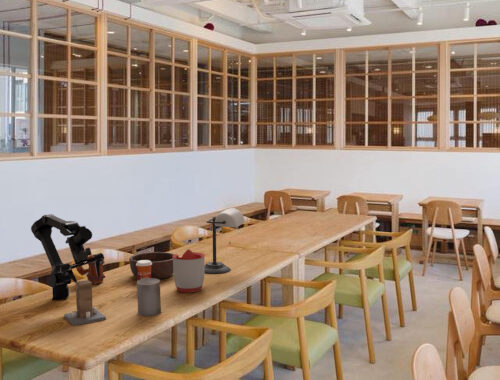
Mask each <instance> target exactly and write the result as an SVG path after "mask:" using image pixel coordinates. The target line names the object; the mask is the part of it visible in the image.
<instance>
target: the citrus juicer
mask: <svg viewBox="0 0 500 380" xmlns="http://www.w3.org/2000/svg"><path fill="white" fill-rule="evenodd" d="M173 254H174V255H173V256H172V257H173V275H172V276H173V282H174V286H175V288H176V290H177V291H178V292H181V293H185V294H187V293H188V294H189V293H195V292H199V291H201V290H202V288H203V285H204V281H205V275H206V274H205V256H206V254H204V253H202V252H198V251H197V252H196V251H195V252H193V251H192V250H191V249H189V248H188V249H186V250H185V252H184V253H183V254H182V256H179V254H177V253H176V254H175V253H173Z"/></svg>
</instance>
